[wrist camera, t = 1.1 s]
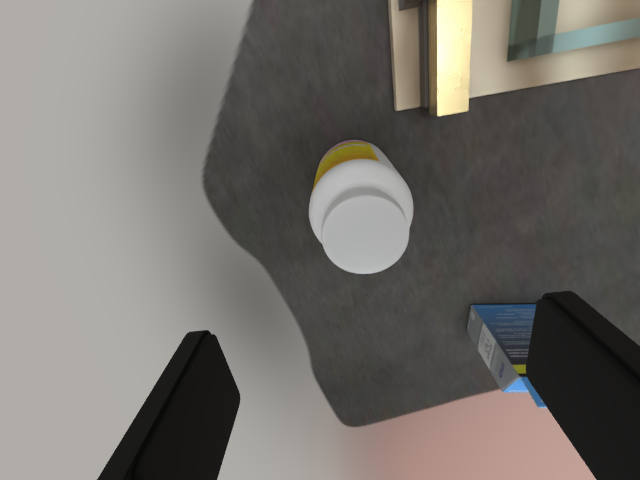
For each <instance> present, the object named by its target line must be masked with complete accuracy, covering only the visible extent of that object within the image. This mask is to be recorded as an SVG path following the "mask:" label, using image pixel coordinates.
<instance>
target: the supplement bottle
mask: <svg viewBox="0 0 640 480" xmlns="http://www.w3.org/2000/svg"><path fill="white" fill-rule="evenodd" d="M412 218H413V200H412V195H411V192H410V190H409V188H408V186H407V184H406V182H405V181H404V179H403V178H402V177H401V175H400V174H399V173H398V172H397V170H396V169H395V168H394V166H393V165H392V164H391V162H390V161H389V160H388V158H387V157H386V156H385V155H384V153H383V152H382V151H381V150H380V149H379V148H378V147H376V146H375V145H373V144H371V143H369V142H366V141H362V140H348V141H344V142H341V143H339V144H337V145H335V146H334V147H332V148H331V149H330V150H329V151H328V152H327V153H326V154H325V155H324V156H323V158H322V159H321V161H320V163H319V166H318V169H317V173H316V177H315V182H314V186H313V190H312V194H311V198H310V204H309V219H310V223H311V227H312V229H313V232H314V234H315V235H316V237H317V238H318V240H319V241H320V242H321V243H322V244H323V248H324V250H325V252H326V254H327V256H328V257H329V258H330V260H331V261H332V262H333V263H334V264H336V265H337V266H338V267H340V268H342V269H344V270H346V271H348V272H352V273H357V274H371V273H376V272H379V271H382V270H384V269H386V268H388V267H390V266H391V265H393V264H394V263H395V262H396V261H397V260H398V259H399V258H400V257H401V256H402V254H403V253H404V251H405V249H406V247H407V244H408V240H409V228H410V225H411V222H412Z"/></svg>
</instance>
